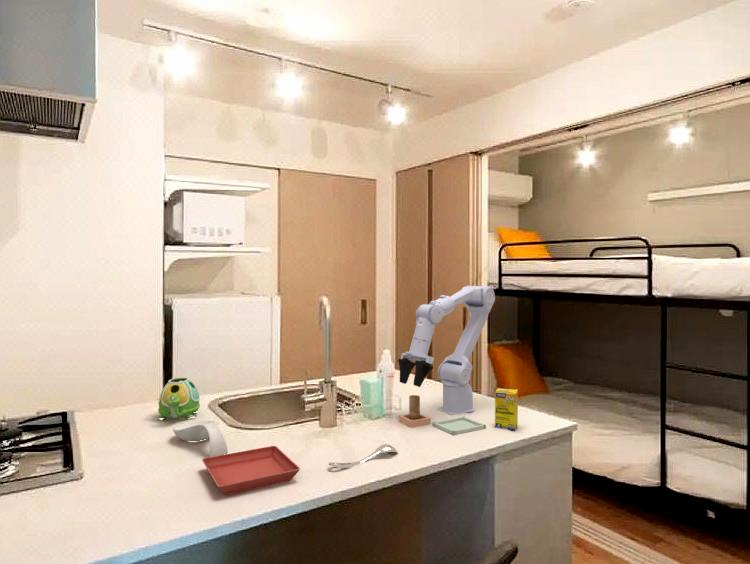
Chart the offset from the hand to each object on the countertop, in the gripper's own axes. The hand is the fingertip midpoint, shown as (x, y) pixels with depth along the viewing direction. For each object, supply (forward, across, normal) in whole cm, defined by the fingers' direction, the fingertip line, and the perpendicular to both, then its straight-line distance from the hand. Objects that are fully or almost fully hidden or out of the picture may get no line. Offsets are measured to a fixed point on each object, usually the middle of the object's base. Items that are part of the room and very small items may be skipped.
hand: (409, 384), depth 154 cm
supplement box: (+4, +16, +26) cm, 31 cm away
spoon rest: (+32, -15, -49) cm, 61 cm away
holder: (+11, 0, +6) cm, 12 cm away
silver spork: (+23, +18, -19) cm, 35 cm away
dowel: (+10, 0, +5) cm, 12 cm away
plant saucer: (+32, +12, -44) cm, 56 cm away
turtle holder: (+30, -44, -52) cm, 74 cm away
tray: (+8, +10, +14) cm, 19 cm away
